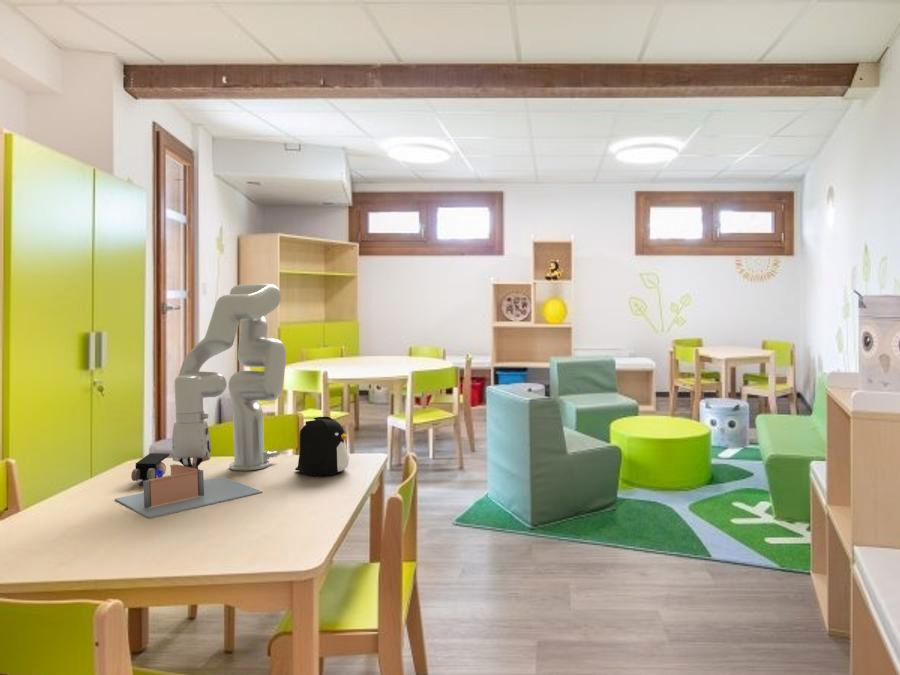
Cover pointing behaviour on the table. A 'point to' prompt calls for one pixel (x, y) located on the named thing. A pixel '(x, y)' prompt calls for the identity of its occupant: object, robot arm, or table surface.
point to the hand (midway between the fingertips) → (192, 480)
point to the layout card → (213, 493)
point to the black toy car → (149, 467)
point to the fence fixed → (173, 488)
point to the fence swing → (181, 469)
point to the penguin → (322, 448)
